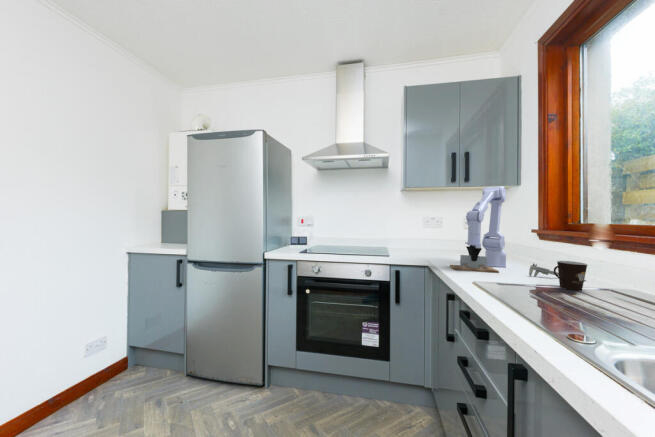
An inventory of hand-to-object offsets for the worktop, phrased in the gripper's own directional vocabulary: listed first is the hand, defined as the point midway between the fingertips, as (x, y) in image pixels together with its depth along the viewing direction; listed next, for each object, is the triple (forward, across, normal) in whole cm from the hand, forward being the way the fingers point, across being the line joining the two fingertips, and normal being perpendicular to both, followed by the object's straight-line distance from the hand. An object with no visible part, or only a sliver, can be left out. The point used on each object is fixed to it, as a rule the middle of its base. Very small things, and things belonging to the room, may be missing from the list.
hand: (473, 260), depth 137 cm
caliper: (+5, +9, +32) cm, 34 cm away
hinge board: (+4, 0, 0) cm, 4 cm away
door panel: (+3, 0, 0) cm, 4 cm away
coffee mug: (+5, +28, +25) cm, 38 cm away
